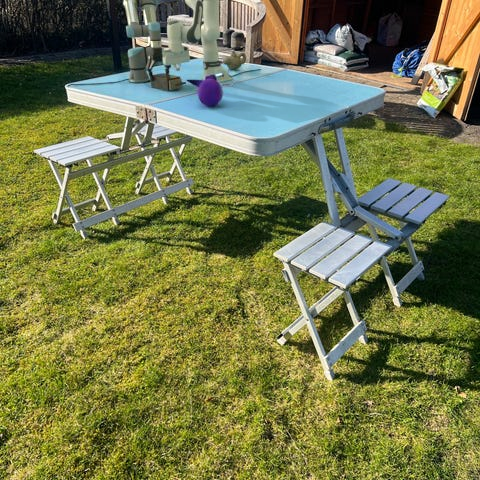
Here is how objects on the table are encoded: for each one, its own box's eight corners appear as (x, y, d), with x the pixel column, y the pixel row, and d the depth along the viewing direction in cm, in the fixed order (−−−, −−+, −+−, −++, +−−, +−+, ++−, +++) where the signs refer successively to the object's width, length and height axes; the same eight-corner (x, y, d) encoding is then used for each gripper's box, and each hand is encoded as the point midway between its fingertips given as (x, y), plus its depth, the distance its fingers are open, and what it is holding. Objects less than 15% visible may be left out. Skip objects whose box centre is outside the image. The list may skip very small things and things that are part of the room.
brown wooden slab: (181, 88, 314) (180, 76, 309) (168, 91, 307) (167, 79, 303) (164, 84, 326) (163, 73, 322) (151, 87, 319) (150, 75, 315)
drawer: (187, 88, 308) (186, 79, 305) (175, 91, 302) (174, 81, 299) (166, 84, 323) (165, 75, 320) (154, 86, 317) (153, 77, 314)
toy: (210, 97, 288) (222, 112, 267) (183, 92, 280) (194, 107, 260) (215, 72, 280) (229, 85, 259) (188, 67, 272) (200, 80, 252)
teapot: (226, 72, 363) (226, 52, 355) (220, 70, 372) (219, 50, 364) (249, 69, 372) (249, 50, 365) (242, 67, 381) (241, 48, 373)
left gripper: (144, 49, 298) (148, 82, 308) (174, 45, 313) (177, 77, 323) (137, 48, 302) (142, 81, 313) (167, 45, 317) (170, 76, 328)
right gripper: (165, 50, 285) (167, 73, 292) (190, 47, 298) (192, 69, 305) (159, 49, 289) (161, 72, 296) (184, 46, 302) (186, 68, 309)
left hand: (159, 79), depth 318 cm, fingers open, 13 cm apart
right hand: (177, 70), depth 301 cm, fingers closed
